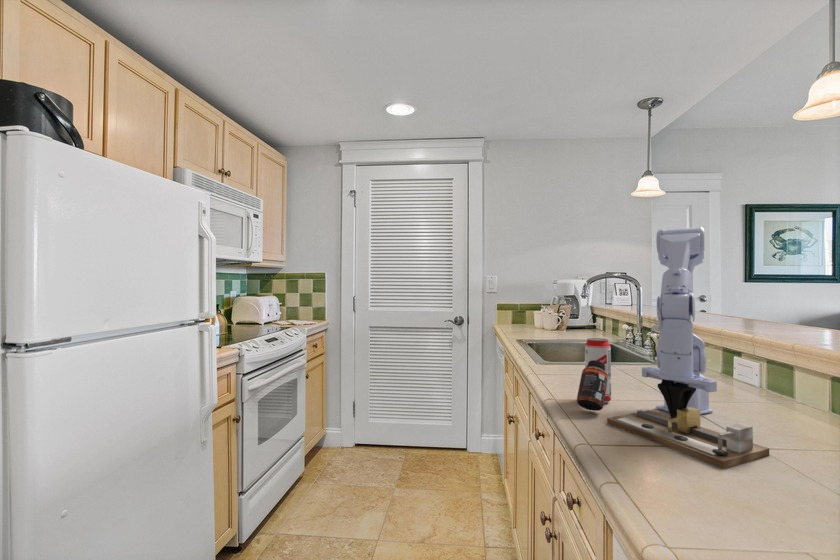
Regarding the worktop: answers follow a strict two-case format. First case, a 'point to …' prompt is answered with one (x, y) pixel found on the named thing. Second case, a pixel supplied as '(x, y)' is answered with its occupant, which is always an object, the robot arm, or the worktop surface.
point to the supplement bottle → (592, 386)
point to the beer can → (600, 358)
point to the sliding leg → (685, 419)
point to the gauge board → (695, 438)
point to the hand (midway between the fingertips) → (677, 419)
